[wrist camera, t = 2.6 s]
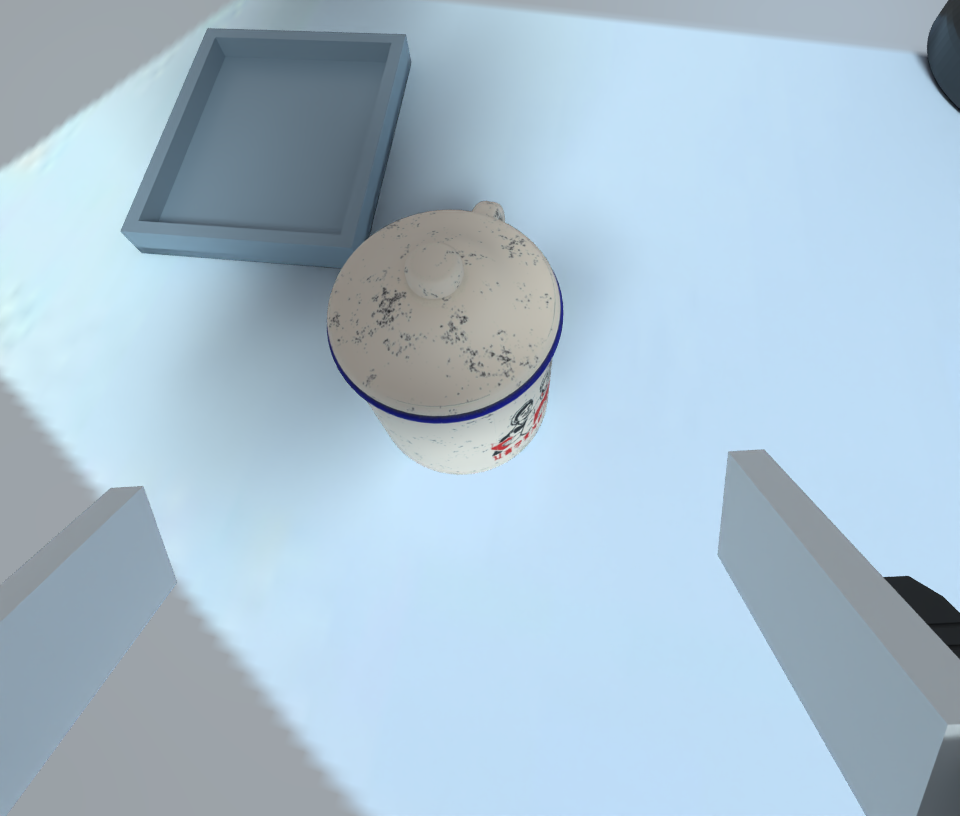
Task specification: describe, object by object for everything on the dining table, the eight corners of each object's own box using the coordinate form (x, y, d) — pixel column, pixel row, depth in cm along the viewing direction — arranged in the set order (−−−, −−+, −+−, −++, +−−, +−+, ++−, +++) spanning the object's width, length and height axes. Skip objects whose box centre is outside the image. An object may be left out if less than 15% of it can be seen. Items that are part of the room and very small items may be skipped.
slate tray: (411, 62, 39) (405, 34, 37) (360, 269, 33) (351, 247, 32) (221, 55, 41) (207, 28, 39) (141, 252, 35) (120, 231, 33)
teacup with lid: (530, 500, 28) (537, 414, 17) (353, 458, 29) (255, 354, 19) (578, 291, 32) (607, 114, 21) (421, 262, 33) (373, 83, 23)
